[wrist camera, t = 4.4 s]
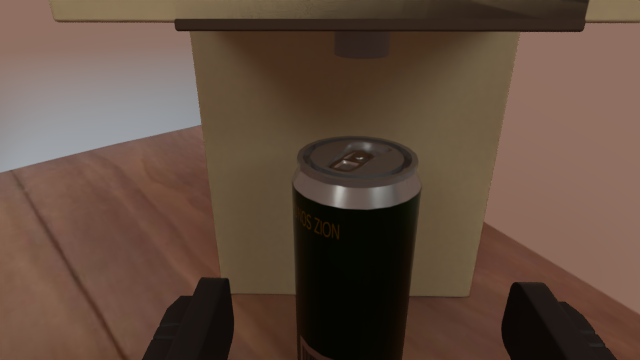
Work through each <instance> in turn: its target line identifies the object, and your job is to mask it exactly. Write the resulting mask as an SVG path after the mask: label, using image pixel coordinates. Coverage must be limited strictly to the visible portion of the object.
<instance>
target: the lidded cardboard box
mask: <svg viewBox="0 0 640 360" xmlns="http://www.w3.org/2000/svg"><path fill="white" fill-rule="evenodd" d="M49 2H50V6H51V10H52V14H53V18H54V20H55V21H57V22H162V23H163V22H164V23H166V22H167V23H169V22H170V23H175V29H176V30H177V31H190V37H191V45H192V52H193V60H194V68H195V76H196V84H197V91H198V99H199V107H200V115H201V123H202V131H203V139H204V147H205V155H206V163H207V170H208V178H209V186H210V194H211V202H212V210H213V218H214V226H215V233H216V241H217V249H218V257H219V265H220V273H221V278H228V279H229V282H230V290H231V294H296V293H295V263H294V233H293V203H292V178H293V175H294V172H295V170H296V168H297V166H298V165H297V155H298V152H299V150H300V149H302V148H303V147H304V146H306V145H307V144H309V143H312V142H315V141H317V140H321V139H326V138H331V137H340V136H368V137H375V138H383V139H386V140H390V141H394V142H397V143H400V144H402V145H404V146H406V147H409V148H410V149H411V150H412V151H413V152H415V153H416V154H417V158H418V161H419V163H418V168H417V172H418V174H419V176H420V180H421V183H422V190H421V198H420V207H419V216H418V225H417V233H416V242H415V251H414V259H413V268H412V277H411V286H410V294H409V296H444V297H469V293H470V288H471V283H472V278H473V273H474V268H475V262H476V257H477V252H478V247H479V242H480V237H481V231H482V226H483V221H484V216H485V211H486V206H487V200H488V195H489V190H490V185H491V180H492V175H493V169H494V164H495V159H496V154H497V149H498V144H499V138H500V134H501V128H502V123H503V118H504V113H505V108H506V103H507V97H508V92H509V87H510V82H511V77H512V72H513V67H514V61H515V56H516V51H517V46H518V41H519V36H520V32H581V31H583V29H584V26H585V23H640V0H49Z"/></svg>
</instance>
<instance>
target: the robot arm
mask: <svg viewBox="0 0 640 360" xmlns="http://www.w3.org/2000/svg"><path fill="white" fill-rule="evenodd" d="M501 331H502V339H503V343H504V346H505V348H506V350H507V352H508V354H509V356H510V358H511V360H617V359H616V358H615V357H614V355H613V354H612V353H611V351H610V350H609V349H608V348H606V347H605V343H604V342H603V341H602V340H601V338H600V337H599V336H598V334H595V330H594V329H593V328H592V326H591V325H590V324H589V323H588V321H587V320H586V319H585V317H584V316H583V315H582V314H580V313H579V312H578V311H577V310H575V309H574V308H573V307H571V306H570V305H569V304H567V303H566V302H558V301H557V299H556V298H555V297H554V295H553V294H552V292H551V291H550V290H549V288H548V287H547V286H546V285H545V284H544V283H539V282H514V283H513V284H512V286H511V288H510V292H509V296H508V300H507V304H506V308H505V312H504V316H503V320H502V327H501ZM233 332H234V316H233V307H232V298H231V290H230V282H229V279H228V278H205V277H202V278H201V279H200V280H199V282H198V285H197V287H196V289H195V292H194V294H193V296H180V297H179V298H178V299H177V300H176V301H175V302H174V303H173V304H172V305H171V306H170V307H169V308H167V310H166V312H165V314H164V316H163V318H162V320H161V322H160V326H159V327H158V328H157V330H156V332H155V334H154V336H153V340H151V342H150V344H149V346H148V348H147V351H146V353H145V355H144V357H143V359H142V360H227V358H228V354H229V351H230V347H231V343H232V339H233Z"/></svg>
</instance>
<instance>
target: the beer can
mask: <svg viewBox="0 0 640 360" xmlns="http://www.w3.org/2000/svg"><path fill="white" fill-rule="evenodd" d="M418 163H419V161H418V158H417V154H416V153H415V152H413V151H412V150H411V149H410V148H409V147H406V146H404V145H402V144H400V143H397V142H394V141H390V140H386V139H383V138H375V137H368V136H340V137H331V138H326V139H321V140H317V141H315V142H312V143H309V144H307V145H306V146H304V147H303V148H302V149H300V150H299V152H298V155H297V165H298V166H297V168H296V170H295V172H294V175H293V178H292V203H293V233H294V263H295V293H296V323H297V353H298V360H402V355H403V346H404V338H405V329H406V320H407V312H408V303H409V294H410V286H411V277H412V268H413V259H414V251H415V242H416V233H417V225H418V216H419V207H420V198H421V190H422V183H421V180H420V176H419V174H418V172H417V168H418Z"/></svg>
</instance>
